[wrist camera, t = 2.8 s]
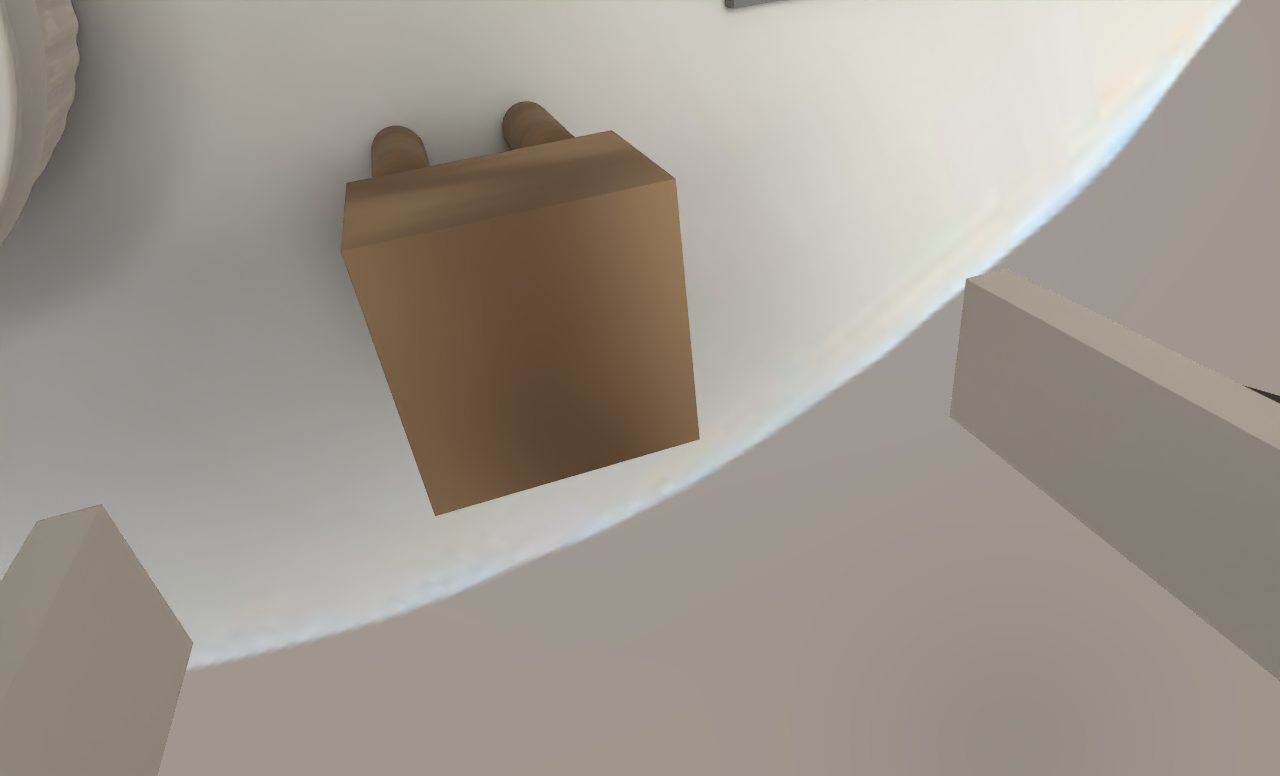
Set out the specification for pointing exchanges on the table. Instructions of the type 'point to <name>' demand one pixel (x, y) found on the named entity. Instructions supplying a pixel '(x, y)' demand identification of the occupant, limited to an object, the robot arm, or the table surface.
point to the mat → (745, 2)
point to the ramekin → (32, 94)
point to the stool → (524, 305)
